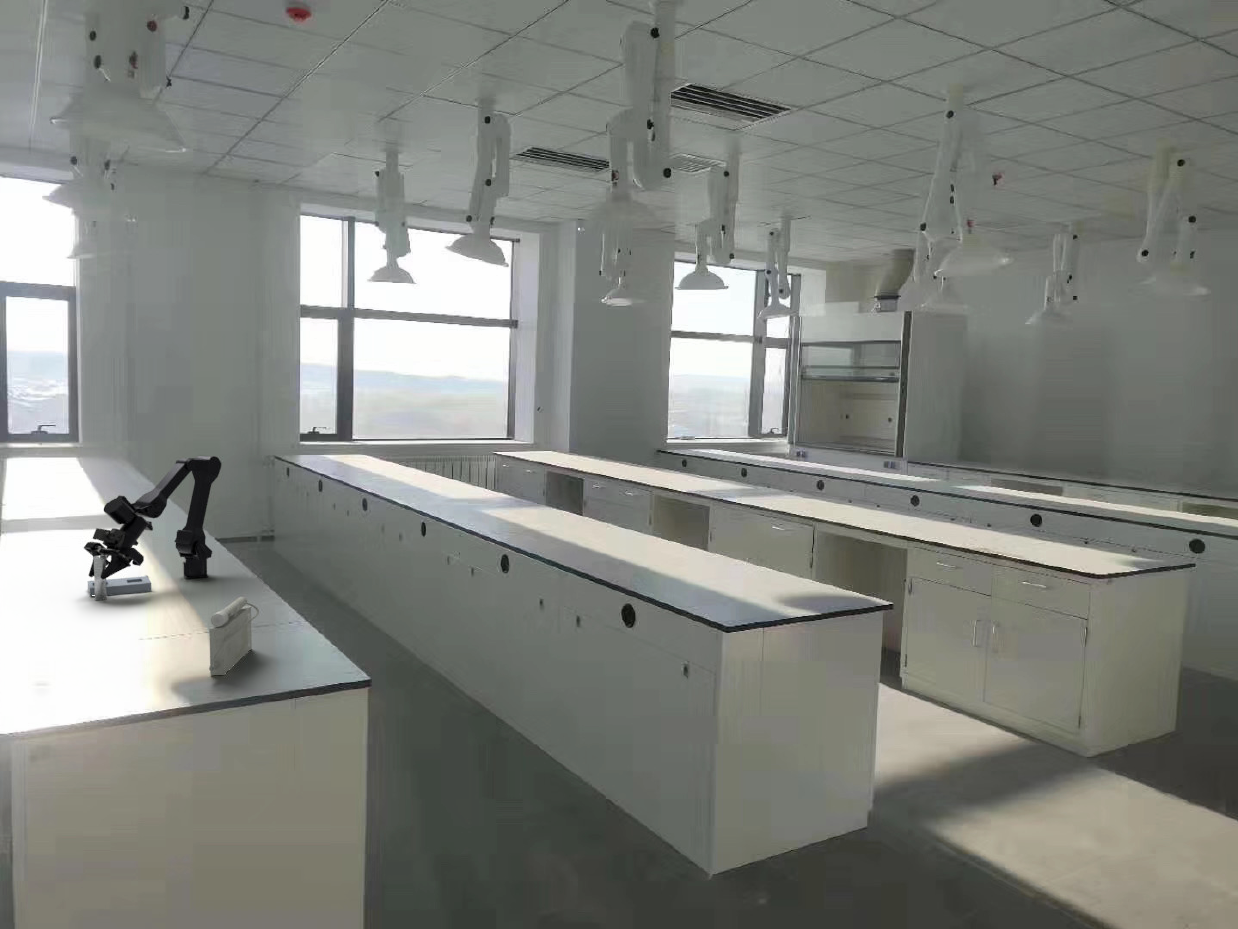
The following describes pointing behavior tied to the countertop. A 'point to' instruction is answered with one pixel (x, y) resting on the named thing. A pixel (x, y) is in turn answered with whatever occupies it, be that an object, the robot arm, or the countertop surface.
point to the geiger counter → (230, 636)
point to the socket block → (123, 585)
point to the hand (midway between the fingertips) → (95, 577)
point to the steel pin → (98, 581)
